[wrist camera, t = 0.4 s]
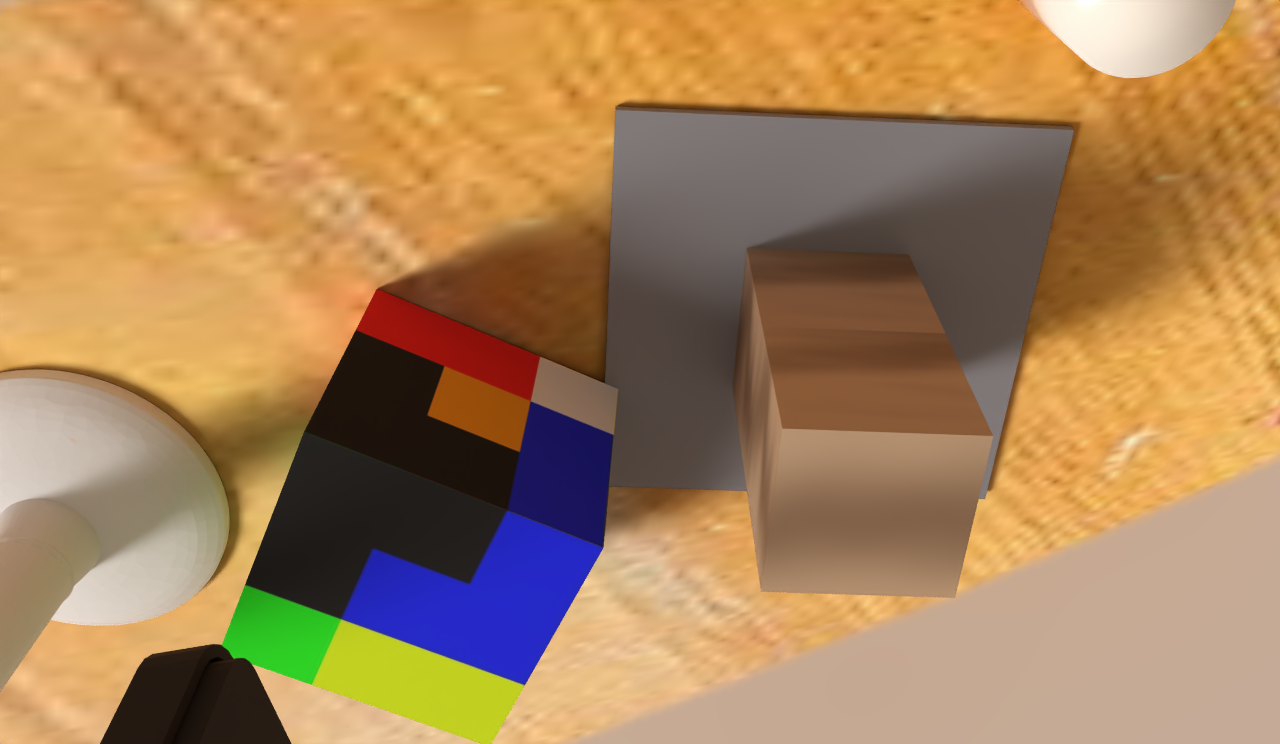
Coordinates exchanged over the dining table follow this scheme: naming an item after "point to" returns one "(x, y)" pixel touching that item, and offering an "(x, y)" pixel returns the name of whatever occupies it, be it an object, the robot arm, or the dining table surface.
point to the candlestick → (97, 508)
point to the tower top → (863, 462)
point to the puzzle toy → (431, 523)
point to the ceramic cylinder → (1133, 31)
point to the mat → (815, 221)
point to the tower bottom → (822, 305)
